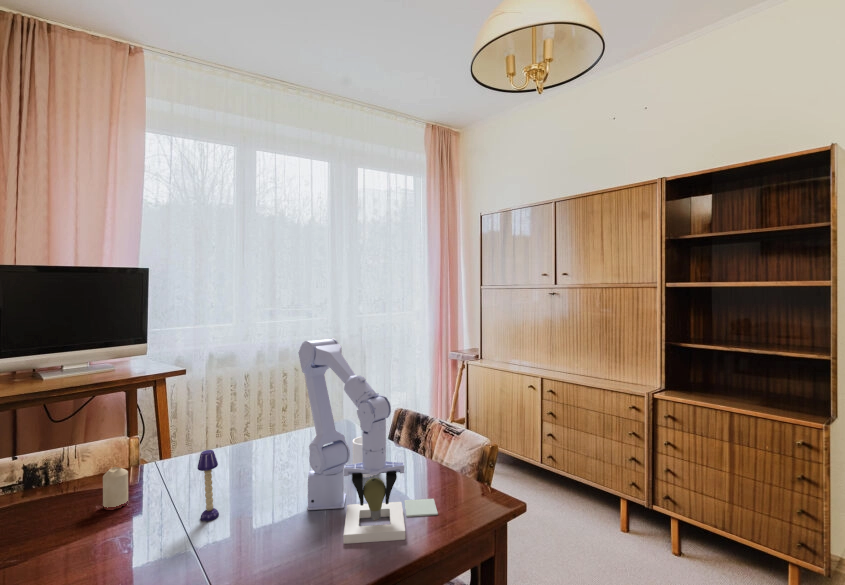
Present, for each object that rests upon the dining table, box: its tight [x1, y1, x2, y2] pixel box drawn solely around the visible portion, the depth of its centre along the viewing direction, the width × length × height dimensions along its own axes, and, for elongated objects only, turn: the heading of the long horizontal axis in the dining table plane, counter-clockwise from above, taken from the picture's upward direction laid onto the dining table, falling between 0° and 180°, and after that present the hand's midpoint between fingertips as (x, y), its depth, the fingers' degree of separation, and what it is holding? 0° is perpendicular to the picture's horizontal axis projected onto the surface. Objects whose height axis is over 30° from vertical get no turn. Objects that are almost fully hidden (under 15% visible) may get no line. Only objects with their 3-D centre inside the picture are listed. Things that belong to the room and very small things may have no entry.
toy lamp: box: [197, 449, 220, 522], centre depth 110 cm, size 5×5×17 cm
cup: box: [352, 436, 374, 478], centre depth 139 cm, size 8×12×10 cm
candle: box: [102, 466, 129, 508], centre depth 116 cm, size 6×6×10 cm
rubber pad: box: [404, 498, 439, 518], centre depth 114 cm, size 8×8×1 cm
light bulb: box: [363, 477, 386, 521], centre depth 106 cm, size 6×6×10 cm
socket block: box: [343, 501, 406, 545], centre depth 106 cm, size 14×14×2 cm
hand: (374, 502), depth 106 cm, fingers closed on light bulb, 5 cm apart
